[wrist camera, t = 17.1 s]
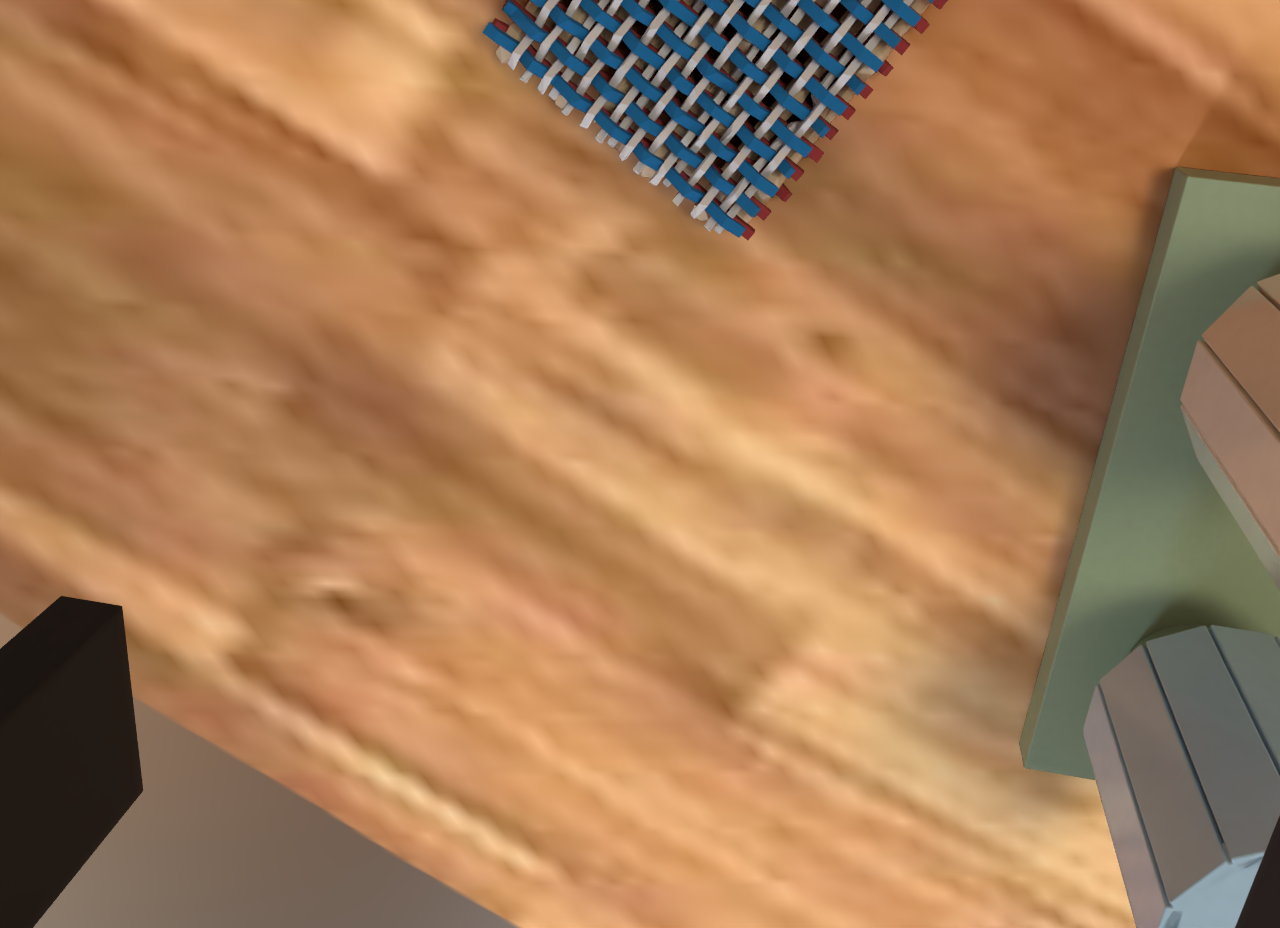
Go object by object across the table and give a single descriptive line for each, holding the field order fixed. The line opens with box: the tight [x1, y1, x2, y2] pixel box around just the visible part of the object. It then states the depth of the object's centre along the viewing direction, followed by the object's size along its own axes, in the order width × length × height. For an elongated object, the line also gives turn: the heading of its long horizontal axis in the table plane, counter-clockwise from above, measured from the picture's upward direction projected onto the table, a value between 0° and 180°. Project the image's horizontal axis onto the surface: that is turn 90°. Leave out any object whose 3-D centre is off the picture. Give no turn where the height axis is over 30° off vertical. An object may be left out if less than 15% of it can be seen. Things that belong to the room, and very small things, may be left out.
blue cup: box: [1083, 625, 1280, 928], centre depth 36 cm, size 8×10×10 cm
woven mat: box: [483, 0, 948, 240], centre depth 37 cm, size 10×11×2 cm
